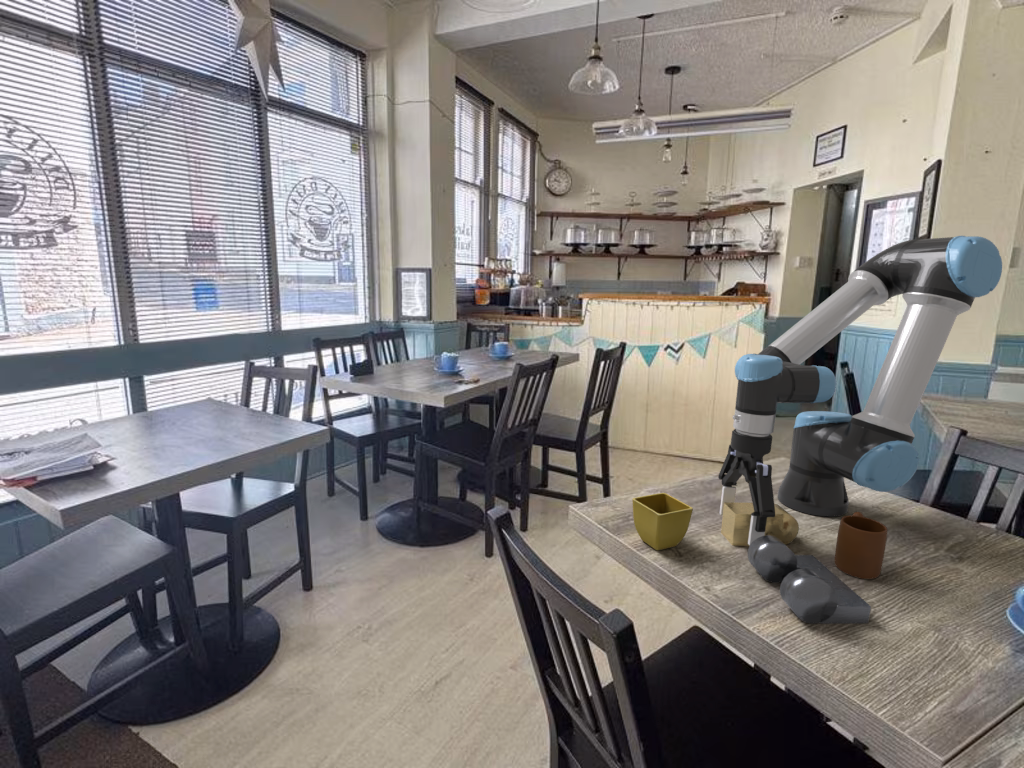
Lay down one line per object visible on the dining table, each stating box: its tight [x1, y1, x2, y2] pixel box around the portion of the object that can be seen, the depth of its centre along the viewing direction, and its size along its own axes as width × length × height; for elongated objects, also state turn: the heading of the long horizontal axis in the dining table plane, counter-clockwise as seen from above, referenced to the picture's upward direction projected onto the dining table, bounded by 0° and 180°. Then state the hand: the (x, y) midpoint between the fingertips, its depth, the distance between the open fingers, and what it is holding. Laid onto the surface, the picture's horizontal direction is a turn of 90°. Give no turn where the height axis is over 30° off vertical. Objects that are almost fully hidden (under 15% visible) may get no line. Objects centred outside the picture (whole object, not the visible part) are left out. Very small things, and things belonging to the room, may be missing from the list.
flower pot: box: [631, 492, 694, 551], centre depth 109 cm, size 9×9×9 cm
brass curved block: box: [720, 502, 800, 547], centre depth 112 cm, size 14×6×7 cm, turn 92°
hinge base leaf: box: [747, 535, 872, 625], centre depth 93 cm, size 12×16×7 cm
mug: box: [833, 511, 888, 580], centre depth 103 cm, size 12×8×9 cm, turn 154°
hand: (739, 529), depth 112 cm, fingers open, 13 cm apart
